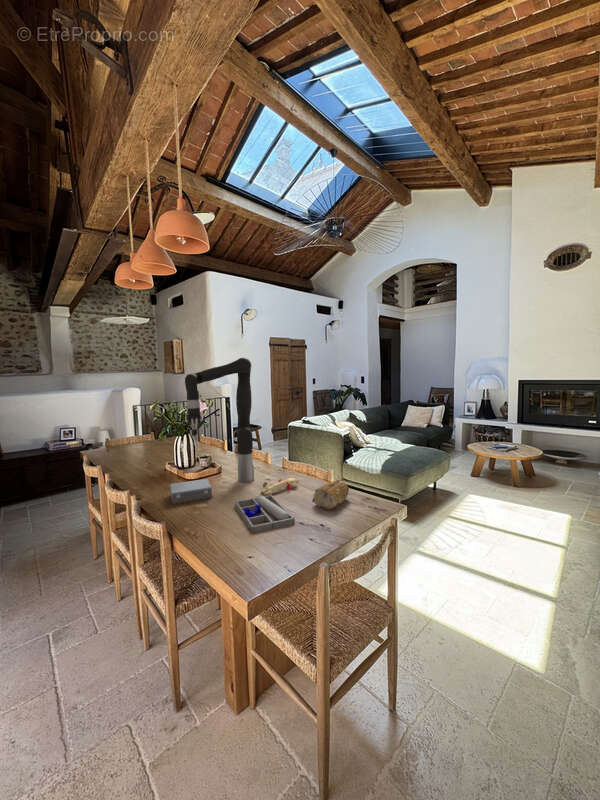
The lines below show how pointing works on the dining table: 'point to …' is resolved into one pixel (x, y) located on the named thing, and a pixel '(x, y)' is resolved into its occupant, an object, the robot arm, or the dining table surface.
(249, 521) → the desk organiser
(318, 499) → the petrified wood
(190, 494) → the dark grey box
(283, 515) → the tube
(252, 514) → the cable holder
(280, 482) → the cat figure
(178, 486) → the cover
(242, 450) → the robot arm
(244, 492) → the dining table surface
